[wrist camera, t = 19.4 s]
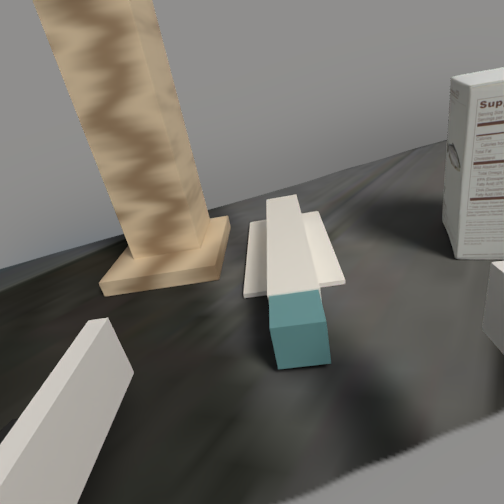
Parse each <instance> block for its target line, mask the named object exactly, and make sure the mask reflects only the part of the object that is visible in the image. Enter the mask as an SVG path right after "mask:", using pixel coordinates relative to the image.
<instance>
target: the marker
mask: <svg viewBox="0 0 504 504" xmlns="http://www.w3.org/2000/svg"><path fill="white" fill-rule="evenodd" d="M267 297H268V302H269V325H270V333H271V338H272V342H273V347H274V352H275V357H276V361H277V366H278V369H286V368H295V367H304V366H313V365H322V364H331V357H330V349H329V340H328V332H327V323H326V318H325V314H324V310H323V306H322V300H321V292H320V286H319V282H318V278H317V274H316V270H315V266H314V262H313V258H312V254H311V250H310V247H309V243H308V239H307V235H306V231H305V227H304V223H303V219H302V215H301V211H300V207H299V203H298V199H297V195H291V196H285V197H279V198H273V199H267Z"/></svg>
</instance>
